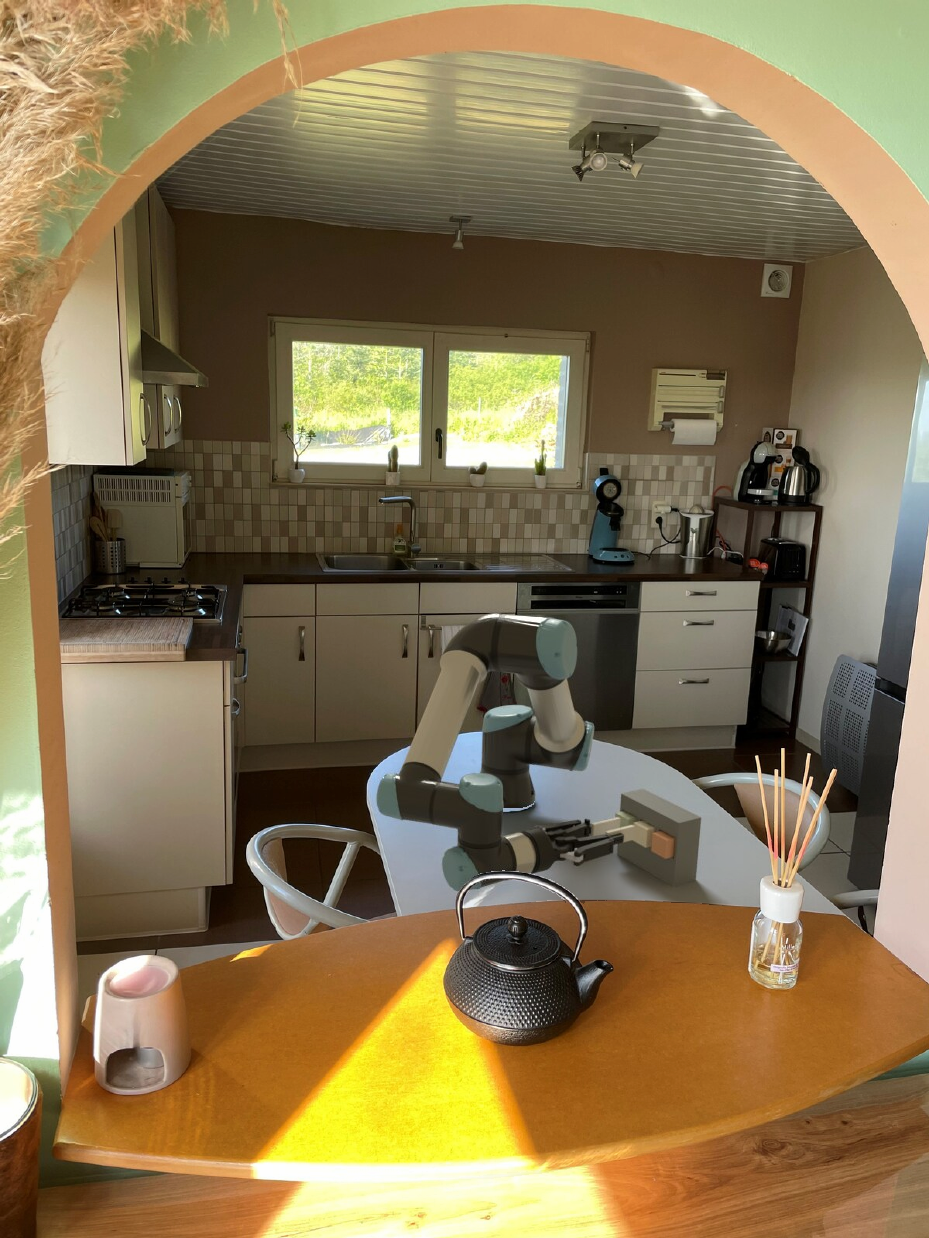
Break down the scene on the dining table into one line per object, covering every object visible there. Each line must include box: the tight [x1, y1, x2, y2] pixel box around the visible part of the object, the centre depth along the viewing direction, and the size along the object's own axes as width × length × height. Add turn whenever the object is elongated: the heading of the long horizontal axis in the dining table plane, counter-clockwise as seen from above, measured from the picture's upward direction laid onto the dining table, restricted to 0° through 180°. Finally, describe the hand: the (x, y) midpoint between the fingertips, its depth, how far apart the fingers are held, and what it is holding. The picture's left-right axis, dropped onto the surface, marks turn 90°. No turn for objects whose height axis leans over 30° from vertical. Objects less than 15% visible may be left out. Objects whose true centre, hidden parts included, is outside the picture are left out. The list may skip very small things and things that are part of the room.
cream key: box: [633, 820, 656, 848], centre depth 189 cm, size 4×4×4 cm
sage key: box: [614, 811, 637, 828], centre depth 193 cm, size 4×4×4 cm
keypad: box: [616, 788, 702, 887], centre depth 191 cm, size 17×6×14 cm, turn 31°
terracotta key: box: [651, 831, 675, 859], centre depth 184 cm, size 4×4×4 cm
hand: (625, 828), depth 177 cm, fingers open, 3 cm apart
